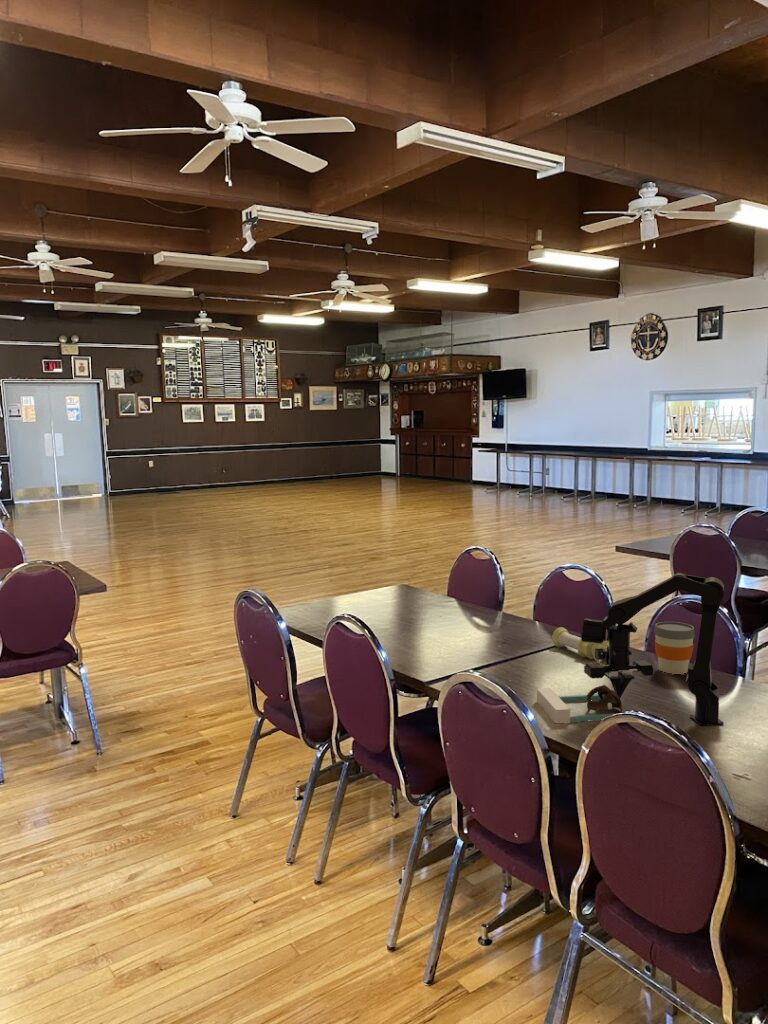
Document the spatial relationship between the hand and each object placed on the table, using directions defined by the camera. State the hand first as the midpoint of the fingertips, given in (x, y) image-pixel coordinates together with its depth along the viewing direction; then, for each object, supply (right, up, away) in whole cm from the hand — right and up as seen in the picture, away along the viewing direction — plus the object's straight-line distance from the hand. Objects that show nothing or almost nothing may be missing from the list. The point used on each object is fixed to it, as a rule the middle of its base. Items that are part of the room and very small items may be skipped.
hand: (618, 698), depth 212 cm
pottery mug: (-4, -4, -1) cm, 6 cm away
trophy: (+4, +2, +49) cm, 49 cm away
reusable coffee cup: (+29, +1, +33) cm, 44 cm away
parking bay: (-12, -3, -1) cm, 12 cm away
